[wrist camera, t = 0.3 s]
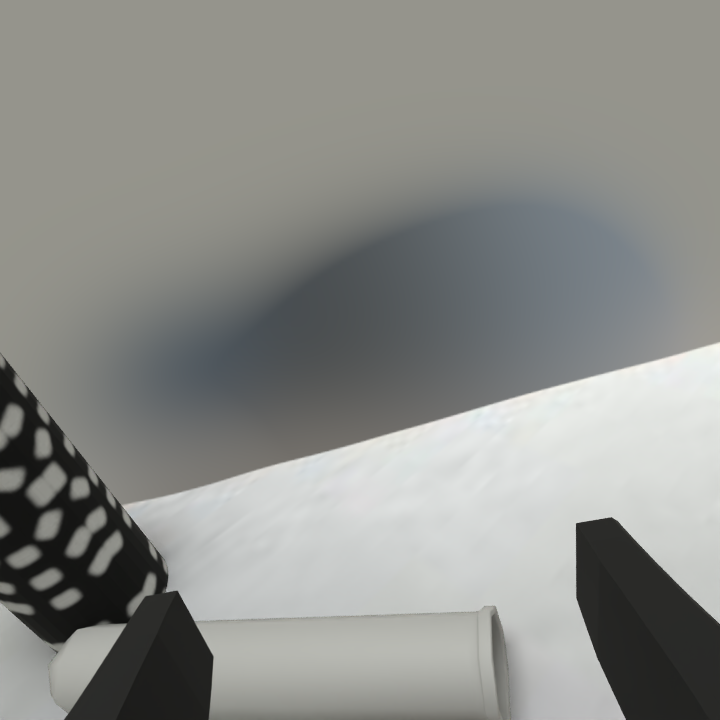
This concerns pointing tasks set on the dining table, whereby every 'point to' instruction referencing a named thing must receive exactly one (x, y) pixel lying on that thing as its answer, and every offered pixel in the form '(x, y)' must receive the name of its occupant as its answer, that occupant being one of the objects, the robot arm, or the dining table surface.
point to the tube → (331, 667)
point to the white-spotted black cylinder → (63, 529)
